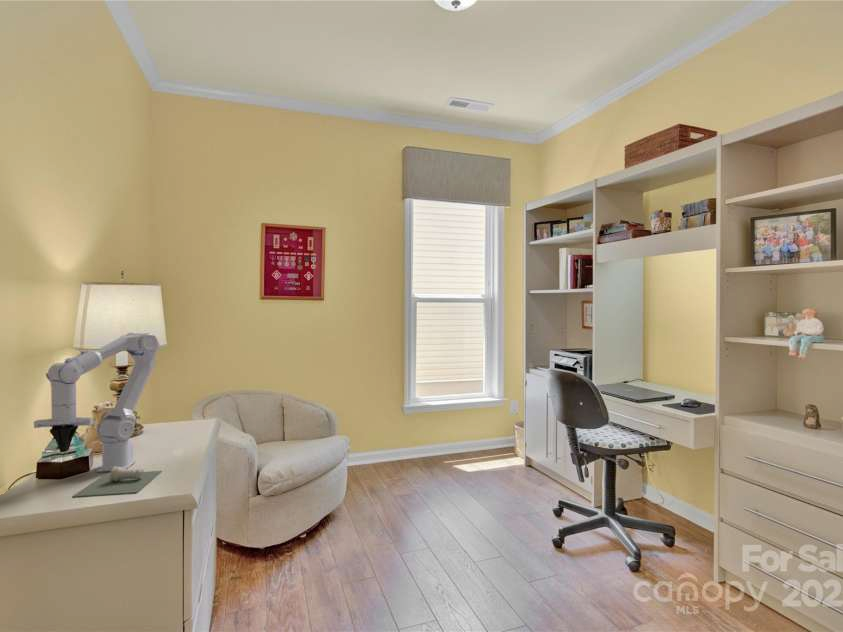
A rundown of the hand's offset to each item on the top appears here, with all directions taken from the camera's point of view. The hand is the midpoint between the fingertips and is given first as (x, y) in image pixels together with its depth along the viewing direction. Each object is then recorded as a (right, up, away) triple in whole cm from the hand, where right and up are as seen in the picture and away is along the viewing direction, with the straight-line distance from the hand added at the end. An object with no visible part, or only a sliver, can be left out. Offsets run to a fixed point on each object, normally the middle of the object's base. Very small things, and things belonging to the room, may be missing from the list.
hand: (64, 451), depth 137 cm
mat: (+16, -9, 0) cm, 19 cm away
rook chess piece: (+13, -7, 0) cm, 15 cm away
